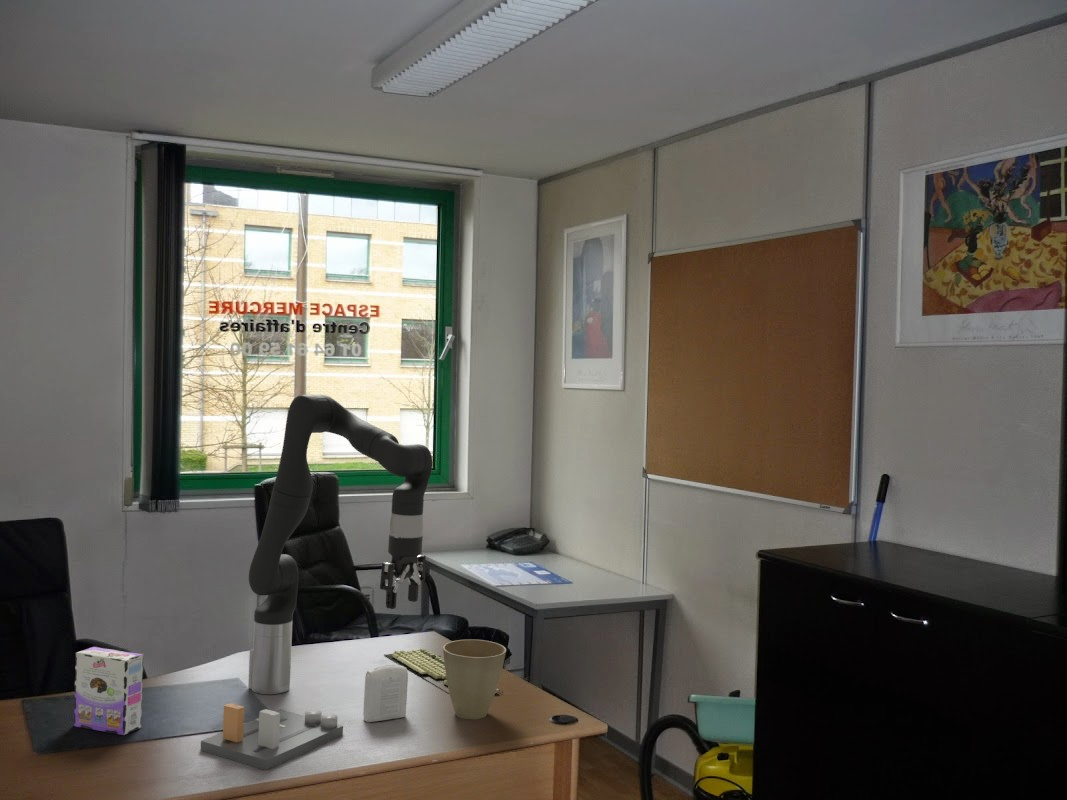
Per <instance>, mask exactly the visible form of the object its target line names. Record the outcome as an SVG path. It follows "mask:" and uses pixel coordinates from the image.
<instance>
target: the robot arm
mask: <svg viewBox="0 0 1067 800" xmlns="http://www.w3.org/2000/svg"><path fill="white" fill-rule="evenodd" d="M325 432H326V433H331V434H335V435H338V436H340V437H343V438H344V439H345V440H347V441H348V442H349V444H350V445H351V446H352V448H353V449H355V451H357V452H359V453H360V454H362V455H363V456H365V457H368V458H369V459H371V460H373V461H375V462H377V463H378V464H379V465H380V466H381V467H383V468H384V469H385V470H386V471H387V472H388V473H389V474H391V475H394V476H397V477H400V478H403V477H404V480H403V483H402V484H401V485H399V486H397V487H395V488H394V489H393V491H392V499H391V500H392V501H391V513H390V514H391V515H390V519H389V527H388V528H389V529H388V532H389V533H388V545H387V546H388V548H387V552H388V554H389V555H391V557H392V558H391V560H390V562H385V561H384V562H382V564H381V572H380V573H381V574H380V584H379V589H380V590H381V591H382V590H383V591H385V592H386V596H385V607H386V609H388V610H389V609H391V610H394V609H396V608H397V595H398V593H397V591H398V588H399V586H400V585H402V584H403V582H404V580H406V579H407V581H408V583H409V584H408V590H407V592H408V594H407V600H408V601H409V602H418V597H419V586H420V585H421V584H422V583H421V582H425V580H426V561H427V557H426V555H424V554H422V553H423V552H422V551H423V537H424V533H423V532H424V515H423V513H424V501H425V500H424V499H425V498H424V496H425V493H426V491H427V488H428V484H429V481H430V477H431V475H432V470H433V456H432V453H431V451H430V449H429V447H427V446H426V445H424V444H416V443H415V444H400V443H399V441H398V440H399V439H398V438H397V437H396V436H394V435H393V434H392V433H390V432H389V431H387V430H384V429H383V428H380V427H377V426H375V425H373V424H371V423H369V422H367V421H365V420H363V419H362V418H360V417H358V416H357V415H356V414H354V413H353V412H351V411H350V410H348V409H347V408H346V407H344V406H343V405H342V404H341V403H340V402H338V400H336V399H334V398H333V397H330V396H328V395H326V394H299V395H297V396H295V398H293V400H292V401H291V403H290V405H289V407H288V411H287V416H286V424H285V428H284V438H283V444H282V449H281V454H280V455H281V456H280V458H279V465H278V467H277V473H276V477H275V480H274V484H273V486H272V491H271V497H270V500H269V505H268V508H267V509H268V510H267V514H266V517H265V520H264V521H265V522H264V524H263V528H262V531H261V535H260V538H259V541H258V543H257V546H256V548H255V551H254V555H253V558H252V559H251V563H250V567H249V571H248V583H249V587H250V589H251V591H252V592H253V593H254V594H255V595H257V596H267V597H266V599H265V600H264V601H263V602H262V603H261V604H260V605H258V606H257V607H256V608H255V610H254V614H253V615H254V616H253V637H252V639H253V642H252V649H250V650H249V661H248V662H249V663H248V665H249V666H248V689H250V690H251V691H252V692H254V693H256V694H260V695H276V694H282V693H285V692H288V691H289V690H290V688H291V687H290V686H291V668H292V667H291V664H292V663H291V662H292V639H293V617H294V612H295V610H296V607H297V601H298V600H297V599H298V591H299V590H298V589H299V578H300V577H299V576H300V575H299V567H298V564H297V562H296V560H295V558H293V556H291V555H290V554H286V553H285V554H284V553H282V552H283V550H284V547H285V545H286V543H287V542H288V540H289V538H290V537H291V536H292V534H293V533H294V532H295V530H297V528H298V526H299V525H300V524H301V523H302V521H303V519H304V518H305V516H306V514H307V512H308V509H309V505H310V502H311V499H312V498H311V497H312V494H313V490H314V489H313V487H314V483H313V478H312V477H313V476H312V474H311V470H310V467H309V463H308V457H307V453H308V447H309V442H310V439H311V435H312V434H315V433H317V434H321V433H322V434H323V433H325ZM419 571H420V572H419ZM386 580H387V582H386ZM393 583H394V584H393Z"/></svg>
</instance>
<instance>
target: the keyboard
mask: <svg viewBox="0 0 1067 800" xmlns="http://www.w3.org/2000/svg"><path fill="white" fill-rule="evenodd" d="M383 656H385V657H386V658H388V659H389V660H391V661H393V662H394V663H396V664H397V665H401V666H404V667H405V668H406V669H407V671H410V672H411V673H413V674H414V675H416V676H418V677H420V678H421V679H423V680H424V681H426V682H428V683H430V684H432V685H433V686H435V687H436V688H437V689H440V690H442V691H443V692H445V693H447V694H448V695H450V693H449V691H446V690H445V689H443V688H441V687H440V686H438V685H436V684H435V683H433V682H431V681H429V680H428V679H426V678H424V677H425V676H429V677H430V678H431V679H434V680H435V681H439V680H443V682H442V684H444V686H446V687H447V686H448V684H447V679H446V672H445V664H444V658H442V657H441V656H442V655H437V654H435V653H434V652H431V651H430V650H427V648H420V649H417V648H416V649H412V650H407V651H405V650H400V651H398V650H395V651H393V653H389V654H383ZM499 693H500V694H499ZM502 693H504V690H503V689H501V692H500V688H498V687H497V689H496V692H495V695H494V696H497V695H498V694H499V695H502V696H503V694H502Z"/></svg>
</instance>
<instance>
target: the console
mask: <svg viewBox="0 0 1067 800" xmlns="http://www.w3.org/2000/svg"><path fill="white" fill-rule="evenodd" d="M258 715H259V716H258V717H257V718H255V719H252V720H250V721H248V722H244V730H243V740H242V741H240V742H237V743H236V742H233V741H229V740H226V739H223V731H222V732H220V733H217V734H215V735H213V736H210V737H208V738H207V737H206V738H205V739H203V740H200V751H202V752H205V753H208V754H211V755H215V756H218V757H222V758H225V759H227V760H231V761H235V762H238V763H241V764H245V765H248V766H251V767H254V768H258V769H261V770H264V771H267V770H269V769H272V768H273V767H276V766H278V765H281V764H283V763H285V762H287V761H289V760H291V759H294V758H296V757H297V756H298V757H299V756H300V755H302V754H304V753H306V752H309V751H311V750H312V749H315V748H317V747H319V746H321V745H323V744H326V743H329V742H331V741H333V740H335V739H336V738H340V737H341V736H343V735H344V725H342V724H338V715H336V714H334V713H327V714H322V711H321V710H318V709H310V710H306V711H305V712H304V715H303V714H299V713H296V712H292V711H288V710H284V709H278V710H275V711H274V710H271V709H267V708H265V709H262V710H260V711H259V712H258Z"/></svg>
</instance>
